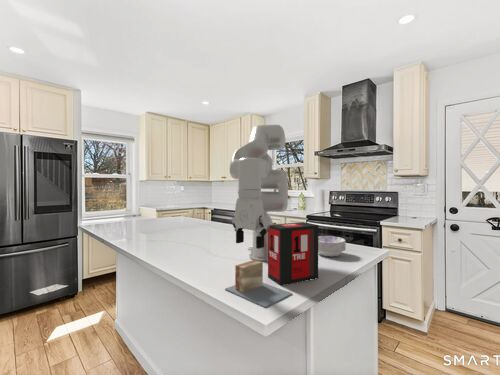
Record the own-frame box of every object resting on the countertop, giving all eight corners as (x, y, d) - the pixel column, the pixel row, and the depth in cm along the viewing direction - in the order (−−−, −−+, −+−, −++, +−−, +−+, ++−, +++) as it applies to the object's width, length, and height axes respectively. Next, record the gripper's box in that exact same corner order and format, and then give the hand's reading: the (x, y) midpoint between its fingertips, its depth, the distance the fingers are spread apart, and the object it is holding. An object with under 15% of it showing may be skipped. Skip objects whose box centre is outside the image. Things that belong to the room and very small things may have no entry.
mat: (225, 289, 88) (225, 288, 88) (252, 279, 97) (252, 278, 97) (265, 308, 75) (265, 306, 75) (292, 294, 84) (292, 293, 84)
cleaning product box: (303, 271, 107) (303, 222, 106) (318, 278, 99) (318, 225, 98) (267, 277, 100) (268, 224, 99) (280, 285, 92) (280, 228, 91)
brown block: (235, 289, 87) (235, 265, 87) (254, 282, 94) (254, 259, 93) (243, 293, 84) (243, 268, 84) (262, 285, 91) (262, 262, 91)
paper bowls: (313, 257, 127) (313, 241, 127) (313, 249, 141) (313, 235, 141) (347, 259, 123) (347, 242, 123) (343, 251, 138) (343, 236, 138)
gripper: (224, 194, 92) (224, 242, 93) (261, 196, 80) (261, 252, 80) (240, 193, 97) (240, 239, 98) (276, 195, 85) (276, 247, 86)
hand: (249, 245), depth 89 cm, fingers open, 9 cm apart
